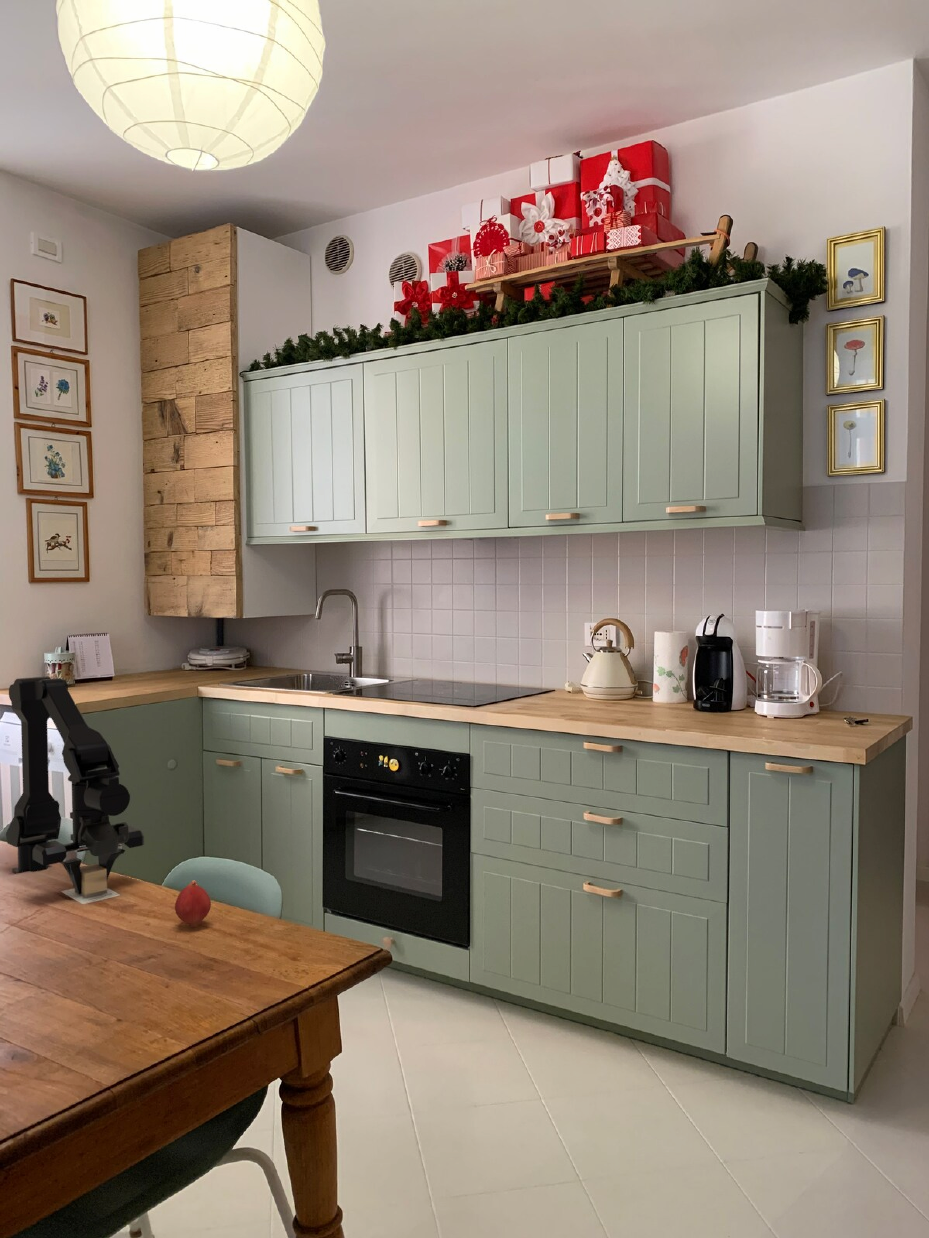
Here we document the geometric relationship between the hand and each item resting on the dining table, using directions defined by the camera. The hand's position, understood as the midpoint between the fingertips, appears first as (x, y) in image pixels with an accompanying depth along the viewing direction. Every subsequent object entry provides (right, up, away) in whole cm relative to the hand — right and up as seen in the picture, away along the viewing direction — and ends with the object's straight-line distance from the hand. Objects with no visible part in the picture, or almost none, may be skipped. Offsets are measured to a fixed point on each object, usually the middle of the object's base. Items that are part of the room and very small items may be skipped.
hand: (90, 890), depth 174 cm
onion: (+23, -2, -15) cm, 28 cm away
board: (0, -1, 0) cm, 1 cm away
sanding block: (0, 0, 0) cm, 0 cm away
